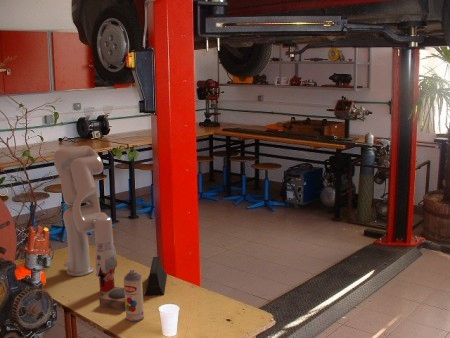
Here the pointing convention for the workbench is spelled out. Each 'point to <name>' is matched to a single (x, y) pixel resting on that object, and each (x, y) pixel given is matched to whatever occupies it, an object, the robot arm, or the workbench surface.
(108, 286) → the beverage can
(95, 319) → the workbench surface
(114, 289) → the walnut plinth
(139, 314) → the aerosol can
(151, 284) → the barrier
